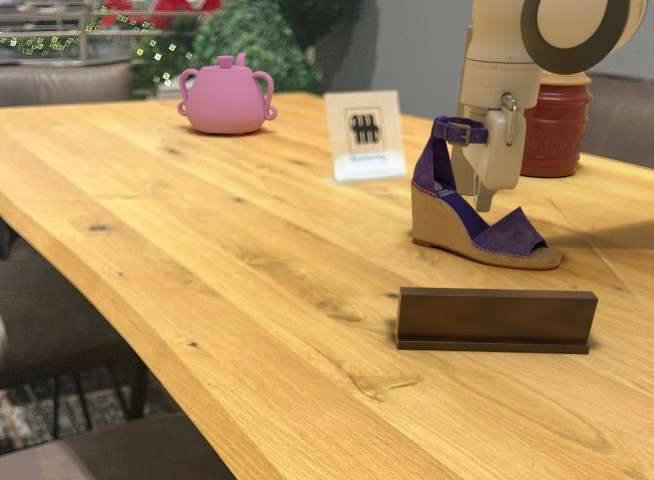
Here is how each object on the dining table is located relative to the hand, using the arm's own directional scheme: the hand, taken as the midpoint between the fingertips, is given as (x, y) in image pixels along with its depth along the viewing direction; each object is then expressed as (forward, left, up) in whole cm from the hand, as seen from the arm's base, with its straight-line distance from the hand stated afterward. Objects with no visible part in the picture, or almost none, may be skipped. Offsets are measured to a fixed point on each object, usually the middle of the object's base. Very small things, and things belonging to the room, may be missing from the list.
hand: (480, 209), depth 97 cm
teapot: (+40, -78, -4) cm, 88 cm away
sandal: (0, +4, -4) cm, 6 cm away
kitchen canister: (-18, -43, -4) cm, 47 cm away
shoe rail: (+4, +32, -4) cm, 33 cm away
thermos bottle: (-4, -28, -4) cm, 29 cm away
